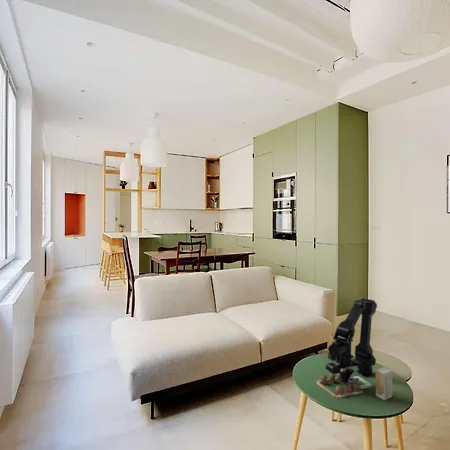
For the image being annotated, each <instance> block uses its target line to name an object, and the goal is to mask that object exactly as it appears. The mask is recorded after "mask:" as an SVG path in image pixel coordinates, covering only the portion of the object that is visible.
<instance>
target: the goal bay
mask: <svg viewBox="0 0 450 450" xmlns="http://www.w3.org/2000/svg"><path fill="white" fill-rule="evenodd" d="M352 377H353V378H354V379H356V380H358V381H360V382H362V383H363V384H360V390H363V389H367V388H372V387H373V384H372V383H370V382H369V381H367V380H365V379H364V378H362V377H360V376H358V375H357V376H356V375H355V376H352Z"/></svg>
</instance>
